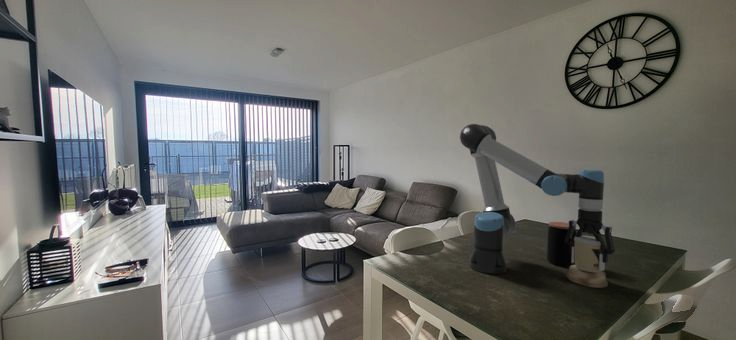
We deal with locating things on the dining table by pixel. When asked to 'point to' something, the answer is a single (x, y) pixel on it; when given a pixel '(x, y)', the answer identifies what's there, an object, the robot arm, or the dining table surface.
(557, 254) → the coffee jar
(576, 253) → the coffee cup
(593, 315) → the dining table surface
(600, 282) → the pedestal
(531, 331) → the dining table surface
